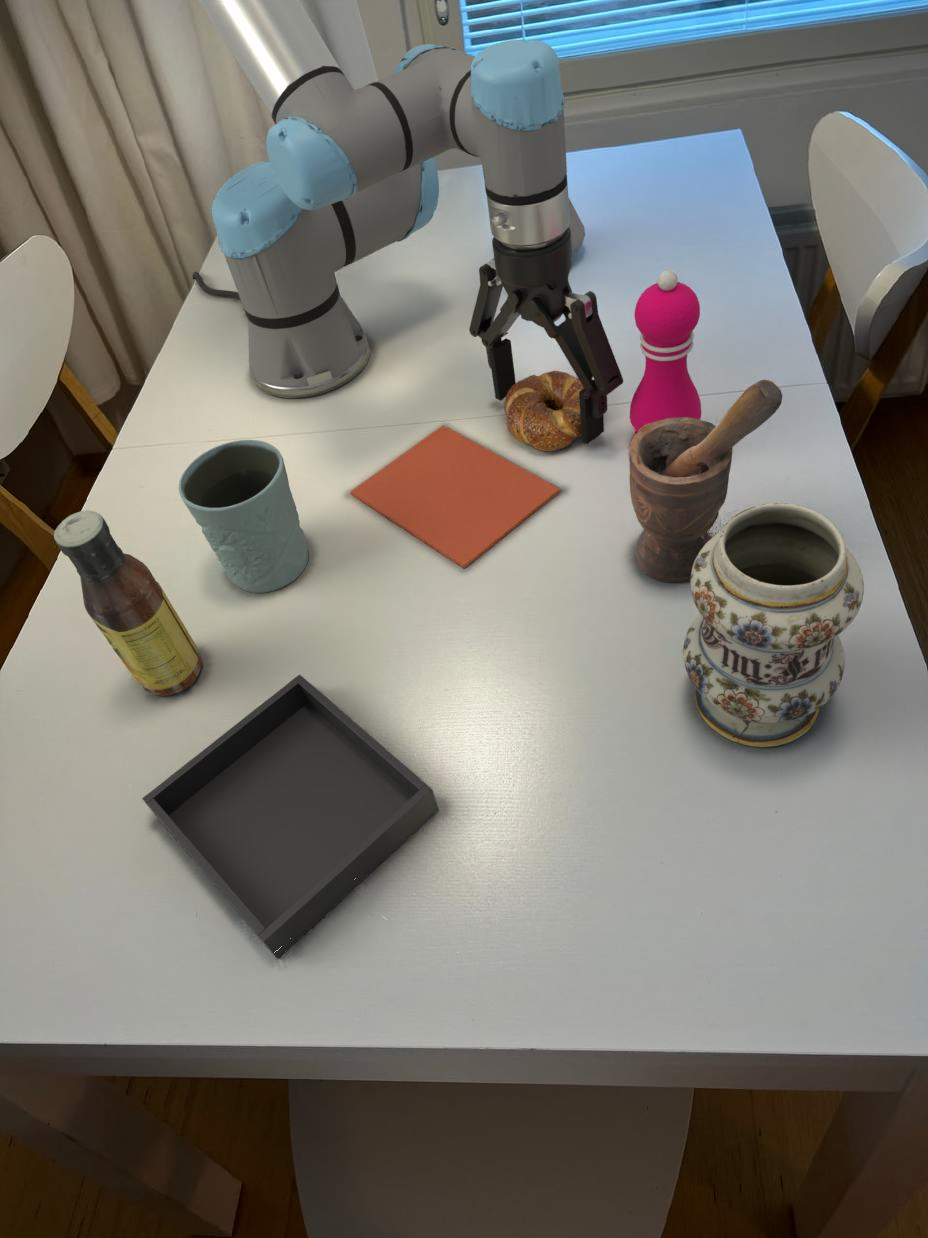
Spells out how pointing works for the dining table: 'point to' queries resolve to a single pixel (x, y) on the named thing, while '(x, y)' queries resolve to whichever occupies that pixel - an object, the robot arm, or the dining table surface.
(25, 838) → the dining table surface
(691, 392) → the pepper mill
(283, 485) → the light blue ceramic cup
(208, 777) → the tray
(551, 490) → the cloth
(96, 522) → the sauce bottle
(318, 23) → the robot arm
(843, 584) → the apothecary jar
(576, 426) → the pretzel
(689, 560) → the mortar and pestle
